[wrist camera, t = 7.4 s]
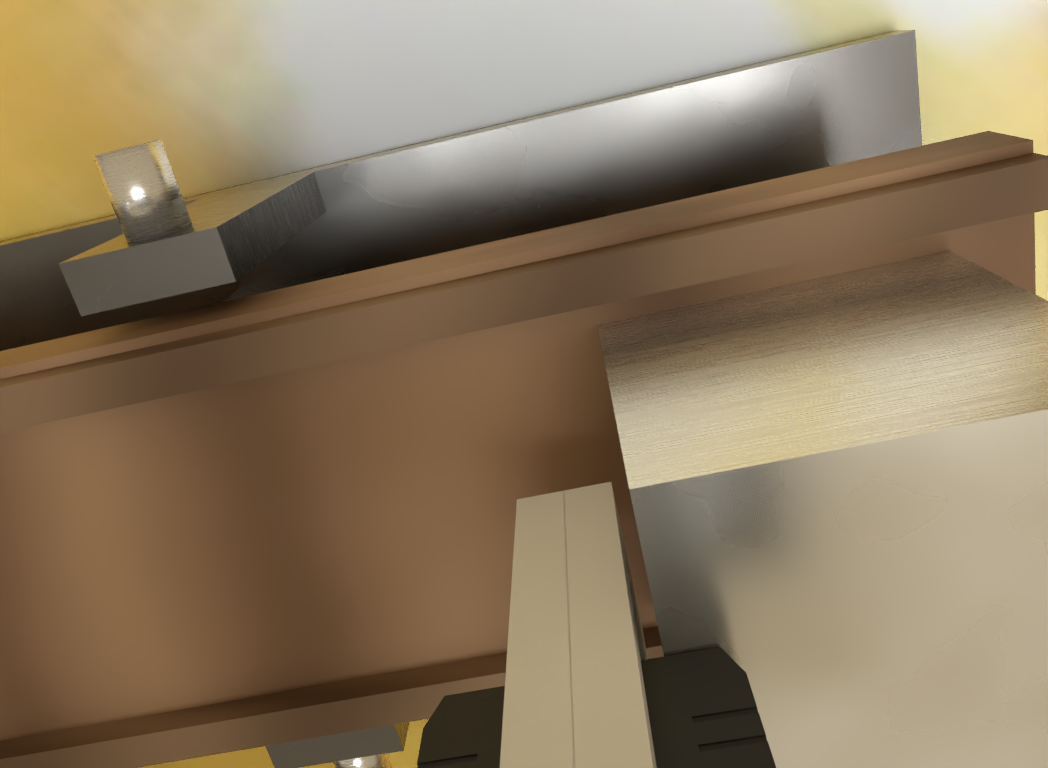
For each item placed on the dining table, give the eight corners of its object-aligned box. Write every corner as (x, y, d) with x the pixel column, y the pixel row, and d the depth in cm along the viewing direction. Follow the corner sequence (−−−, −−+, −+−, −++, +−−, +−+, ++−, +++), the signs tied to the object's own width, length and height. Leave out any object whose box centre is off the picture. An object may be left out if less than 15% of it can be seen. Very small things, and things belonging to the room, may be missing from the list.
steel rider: (655, 606, 17) (709, 875, 12) (597, 324, 15) (628, 489, 10) (965, 551, 17) (1176, 806, 11) (948, 250, 15) (1200, 380, 9)
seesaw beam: (-251, 779, 22) (-330, 852, 20) (-481, 458, 18) (-603, 508, 16) (1002, 559, 19) (1057, 621, 17) (988, 130, 15) (1053, 144, 13)
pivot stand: (-48, 686, 29) (-250, 906, 22) (-299, 249, 24) (-681, 345, 17) (928, 512, 26) (1081, 703, 18) (890, -42, 21) (1084, -86, 13)
